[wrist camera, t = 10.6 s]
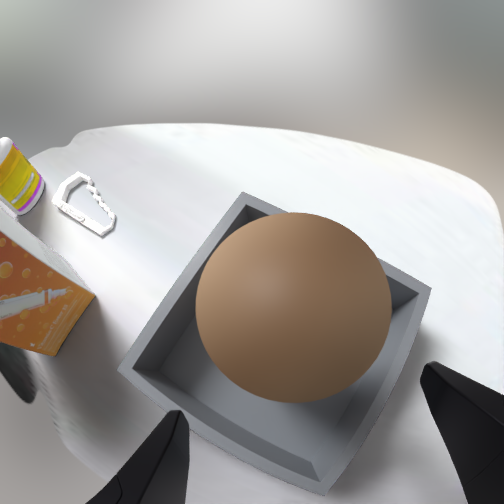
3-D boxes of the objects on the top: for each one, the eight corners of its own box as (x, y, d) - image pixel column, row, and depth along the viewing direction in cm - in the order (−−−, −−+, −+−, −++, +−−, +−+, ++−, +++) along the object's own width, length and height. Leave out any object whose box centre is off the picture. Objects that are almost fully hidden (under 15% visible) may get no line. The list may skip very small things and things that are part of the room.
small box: (56, 358, 19) (-55, 323, 7) (30, 316, 21) (-62, 270, 9) (98, 295, 22) (-7, 223, 10) (68, 259, 24) (-17, 188, 12)
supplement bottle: (52, 177, 29) (4, 116, 18) (31, 218, 27) (-27, 160, 15) (30, 179, 30) (-14, 126, 19) (10, 215, 28) (-41, 165, 16)
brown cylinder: (328, 333, 18) (414, 263, 7) (292, 394, 17) (334, 436, 5) (268, 300, 20) (261, 187, 8) (231, 358, 18) (158, 331, 6)
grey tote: (401, 307, 19) (431, 288, 15) (312, 470, 15) (323, 496, 10) (248, 227, 23) (242, 191, 19) (149, 372, 19) (116, 369, 14)
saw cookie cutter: (137, 205, 27) (131, 196, 25) (110, 243, 25) (103, 235, 24) (74, 174, 30) (68, 166, 28) (51, 204, 28) (44, 196, 26)
